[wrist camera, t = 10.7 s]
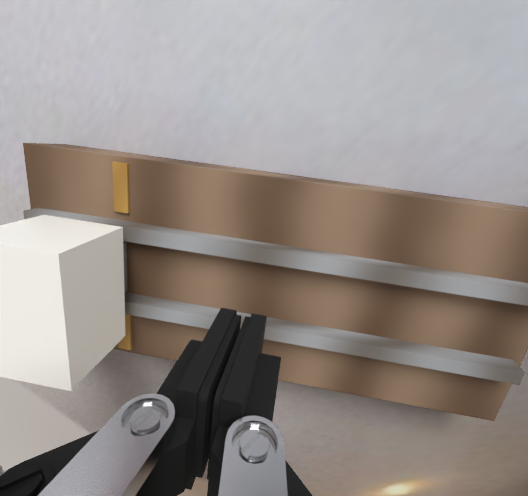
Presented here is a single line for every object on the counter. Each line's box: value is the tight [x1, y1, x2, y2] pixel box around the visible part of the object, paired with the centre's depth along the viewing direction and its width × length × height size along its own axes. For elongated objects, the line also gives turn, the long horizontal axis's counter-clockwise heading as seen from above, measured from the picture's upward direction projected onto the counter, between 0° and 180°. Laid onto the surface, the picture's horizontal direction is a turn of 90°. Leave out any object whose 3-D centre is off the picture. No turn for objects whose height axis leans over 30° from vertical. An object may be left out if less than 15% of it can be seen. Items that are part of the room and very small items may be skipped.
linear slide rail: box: [23, 143, 528, 421], centre depth 18 cm, size 28×12×4 cm, turn 83°
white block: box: [0, 215, 128, 391], centre depth 15 cm, size 4×6×6 cm, turn 173°
